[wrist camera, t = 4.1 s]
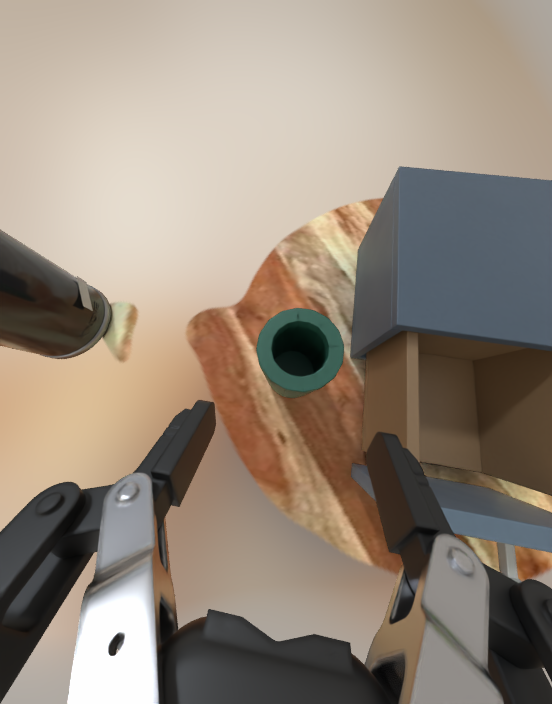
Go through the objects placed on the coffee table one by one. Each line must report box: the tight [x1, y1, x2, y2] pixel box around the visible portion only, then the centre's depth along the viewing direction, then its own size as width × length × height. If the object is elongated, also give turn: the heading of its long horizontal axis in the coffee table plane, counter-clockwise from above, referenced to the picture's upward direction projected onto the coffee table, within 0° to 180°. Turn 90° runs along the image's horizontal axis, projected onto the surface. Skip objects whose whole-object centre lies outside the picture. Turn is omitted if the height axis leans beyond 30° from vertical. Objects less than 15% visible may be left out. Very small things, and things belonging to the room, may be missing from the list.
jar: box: [256, 308, 344, 398], centre depth 18 cm, size 6×6×10 cm
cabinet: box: [350, 167, 552, 360], centre depth 20 cm, size 15×14×10 cm
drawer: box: [351, 330, 552, 583], centre depth 16 cm, size 18×12×8 cm
